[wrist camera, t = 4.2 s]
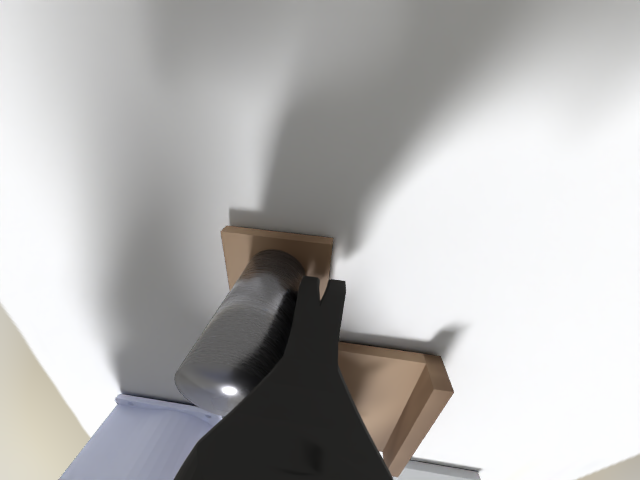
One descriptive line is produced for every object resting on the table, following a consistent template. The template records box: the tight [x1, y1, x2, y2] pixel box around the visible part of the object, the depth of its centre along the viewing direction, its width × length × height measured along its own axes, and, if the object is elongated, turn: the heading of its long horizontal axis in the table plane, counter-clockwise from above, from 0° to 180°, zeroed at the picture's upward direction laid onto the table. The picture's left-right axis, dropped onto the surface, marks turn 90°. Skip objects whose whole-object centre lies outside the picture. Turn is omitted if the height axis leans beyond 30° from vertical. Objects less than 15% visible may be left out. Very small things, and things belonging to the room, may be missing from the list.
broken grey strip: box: [393, 460, 481, 480], centre depth 22 cm, size 16×6×1 cm, turn 86°
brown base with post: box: [175, 226, 454, 477], centre depth 13 cm, size 13×19×6 cm
